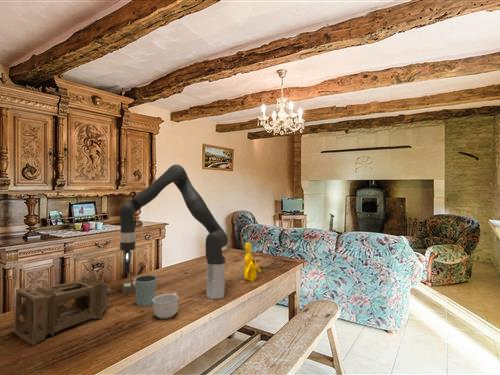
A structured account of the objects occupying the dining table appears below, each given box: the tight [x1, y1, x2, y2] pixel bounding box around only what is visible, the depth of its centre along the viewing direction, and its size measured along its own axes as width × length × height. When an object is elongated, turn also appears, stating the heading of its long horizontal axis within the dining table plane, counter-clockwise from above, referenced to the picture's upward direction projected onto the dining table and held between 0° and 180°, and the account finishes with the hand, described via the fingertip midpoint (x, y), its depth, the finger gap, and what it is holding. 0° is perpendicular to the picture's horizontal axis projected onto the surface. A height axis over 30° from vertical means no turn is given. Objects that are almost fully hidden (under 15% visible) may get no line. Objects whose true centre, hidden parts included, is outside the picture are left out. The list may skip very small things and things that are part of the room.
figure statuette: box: [243, 242, 262, 282], centre depth 182 cm, size 18×8×22 cm, turn 147°
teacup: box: [152, 292, 179, 320], centre depth 132 cm, size 14×11×8 cm
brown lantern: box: [13, 275, 114, 346], centre depth 124 cm, size 35×18×18 cm, turn 147°
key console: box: [121, 277, 136, 294], centre depth 163 cm, size 12×14×4 cm
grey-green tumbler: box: [134, 274, 158, 307], centre depth 144 cm, size 10×10×12 cm
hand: (127, 273), depth 158 cm, fingers closed
